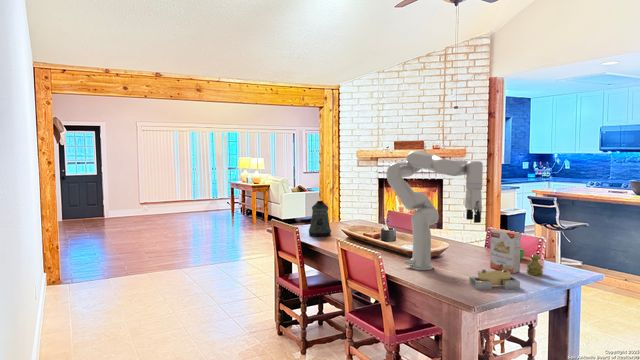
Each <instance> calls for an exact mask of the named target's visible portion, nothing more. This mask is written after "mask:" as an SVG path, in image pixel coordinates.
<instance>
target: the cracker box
mask: <svg viewBox="0 0 640 360" xmlns="http://www.w3.org/2000/svg"><path fill="white" fill-rule="evenodd" d="M521 239H522V232H516V231H512V230H506V229H501V228H494V229H491V230H490V260H489V261H490V262H489V265H490V266H489V268H490V269H494V270H497V271H502V269H506V270H507V271H509V272H510V274H516V273H520V271H521V270H520V269H521V259H520V243H522V242H521V241H522V240H521Z"/></svg>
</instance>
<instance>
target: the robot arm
mask: <svg viewBox="0 0 640 360" xmlns="http://www.w3.org/2000/svg"><path fill="white" fill-rule="evenodd" d="M421 169H423V170H428V171H431V172H434V173H437V174H441V175H446V176H450V177H456V176H457V177H458V176H460V177H461V176H465V178H466V179H465V180H466V181H465V191H466V192H465V196H464V197H465V198H464V199H465V200H464V207H465V210H466V212H465V213H466V217H465V219H466V220H469V221H470V220H473V223H475V224H479V223H482V211H483V206H482V203H483V201H482V199H483V197H482V190H483V169H484V166H483V162H482V161H478V160H471V161H468V160H464V159H462V160H450V159H444V158H441V157H439V156H438V155H437V154H434V153H429V152H426V151H424V150H412V151H410V152H409V153H407V155H406V161H402V162H401V161H399V162H393V163H391V164H390V165H388V167H387V170H386V179H387V183H388V184H389V186H390V188H391V189H392V190H393V192H394V193H395V194H396V196H397V198H398V199H399V200H400V202H401V204H402V205H403V206H404V208H405V209H406V210H408V211H413V210H415V211H413V213H412V215H411V219H410V220H411V226H412V227H411V228H412V257H411V258H410V259H408V260H407V259H404V260H403V264H404V265H409V268H410V269H412V270H416V271H431V270H433V269H434V267H435V266H434V264H432V263H431V261H432V254H431V253H432V233H431V228H430V226H432V225H434V224H437V222H439V218H440V217H439V211H438V210H437V209H436V206H434V204H433V203H432V201H431V200H430V199H429V197H428V196H427V195H426V194H425V193H424V192H421V191H414V189H412V188H411V186H410V184H409V183H408V182H407V181H406V180H404V178H409V177H412V176H413V175H414V174H416V173H418V172H419V171H420V170H421Z"/></svg>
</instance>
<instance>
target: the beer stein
mask: <svg viewBox="0 0 640 360" xmlns="http://www.w3.org/2000/svg"><path fill="white" fill-rule="evenodd" d="M329 209H330V208H329V206H328V205H327V204H326V203H325V202H324V200H317V201H316V203H314V204H313V206H311V210H312V212H311V213H312V214H311V220H310V225H309V228H308V235H309V236H310V237H314V238H326V237H331V234H332V229H331V226H330V220H329Z"/></svg>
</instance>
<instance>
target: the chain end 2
mask: <svg viewBox="0 0 640 360" xmlns="http://www.w3.org/2000/svg"><path fill="white" fill-rule="evenodd" d="M498 286H499V287H501V288H502V289H504V290H520V289H521V281H520V280H518V279H516V278H515V277H513V276H511V275H510V280H503V285H498Z"/></svg>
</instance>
